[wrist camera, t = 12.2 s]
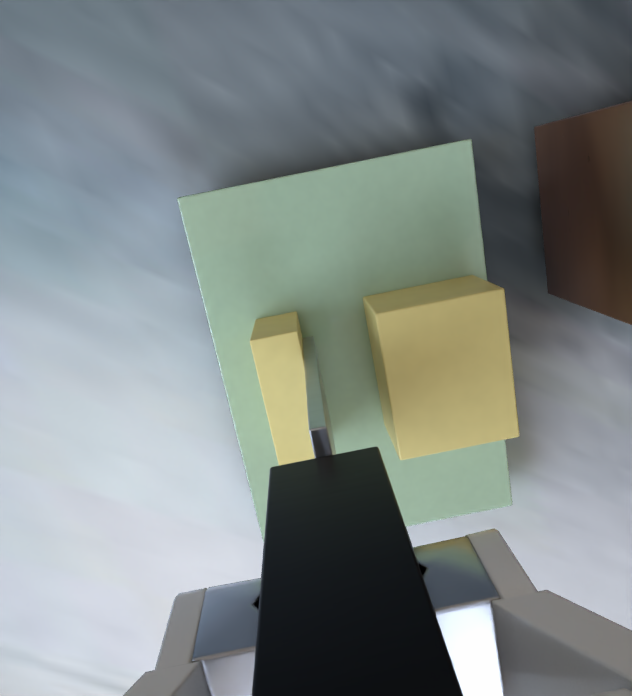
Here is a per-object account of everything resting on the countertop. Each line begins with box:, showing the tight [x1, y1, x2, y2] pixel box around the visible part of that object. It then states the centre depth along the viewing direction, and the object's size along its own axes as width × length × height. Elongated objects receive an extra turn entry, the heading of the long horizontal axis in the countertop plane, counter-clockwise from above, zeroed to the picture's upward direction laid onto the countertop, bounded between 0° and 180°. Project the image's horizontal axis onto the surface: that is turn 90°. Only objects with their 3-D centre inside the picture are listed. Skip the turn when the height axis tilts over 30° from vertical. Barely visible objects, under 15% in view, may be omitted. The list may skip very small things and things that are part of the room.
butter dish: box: [177, 139, 512, 542], centre depth 21 cm, size 14×10×1 cm
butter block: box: [363, 275, 519, 460], centre depth 19 cm, size 5×4×3 cm
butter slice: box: [250, 311, 315, 465], centre depth 19 cm, size 5×2×3 cm, turn 11°
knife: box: [252, 336, 463, 696], centre depth 13 cm, size 4×2×15 cm
